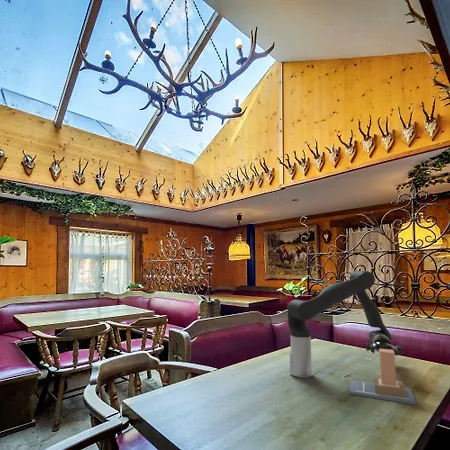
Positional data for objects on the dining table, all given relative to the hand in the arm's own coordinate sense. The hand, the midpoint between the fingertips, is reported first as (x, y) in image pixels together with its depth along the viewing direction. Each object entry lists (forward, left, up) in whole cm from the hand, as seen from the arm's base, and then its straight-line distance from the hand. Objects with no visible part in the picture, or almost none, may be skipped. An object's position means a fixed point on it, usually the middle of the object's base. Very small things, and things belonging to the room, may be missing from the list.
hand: (384, 352), depth 131 cm
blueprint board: (-3, -11, -13) cm, 17 cm away
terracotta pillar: (0, -11, -9) cm, 14 cm away
